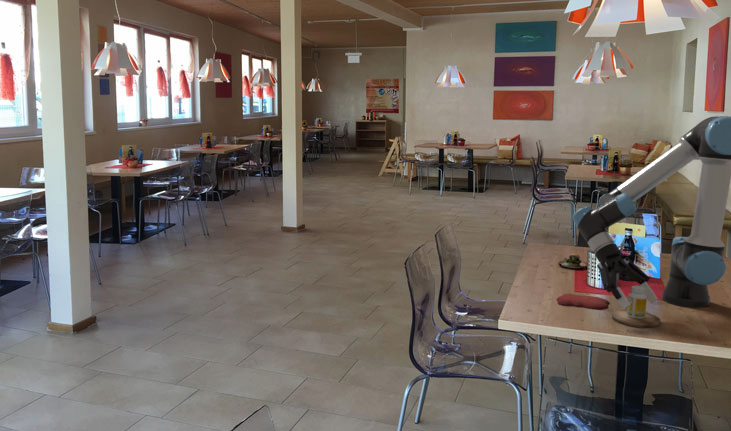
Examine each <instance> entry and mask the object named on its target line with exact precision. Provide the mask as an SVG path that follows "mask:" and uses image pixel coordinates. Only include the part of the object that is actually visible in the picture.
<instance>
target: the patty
mask: <svg viewBox="0 0 731 431" xmlns="http://www.w3.org/2000/svg"><path fill="white" fill-rule="evenodd" d="M556 302H557V304H558V305H559V306H563V307H573V308H584V309H588V310H600V311H601V310H606V309H608V308H609V305H610V301H609V300H608V299H605V298H602V297H599V296H591V295H585V294H584V295H583V294H582V295H581V294H573V293H564V294H562V295H560V296H558V297H557V298H556Z"/></svg>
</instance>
